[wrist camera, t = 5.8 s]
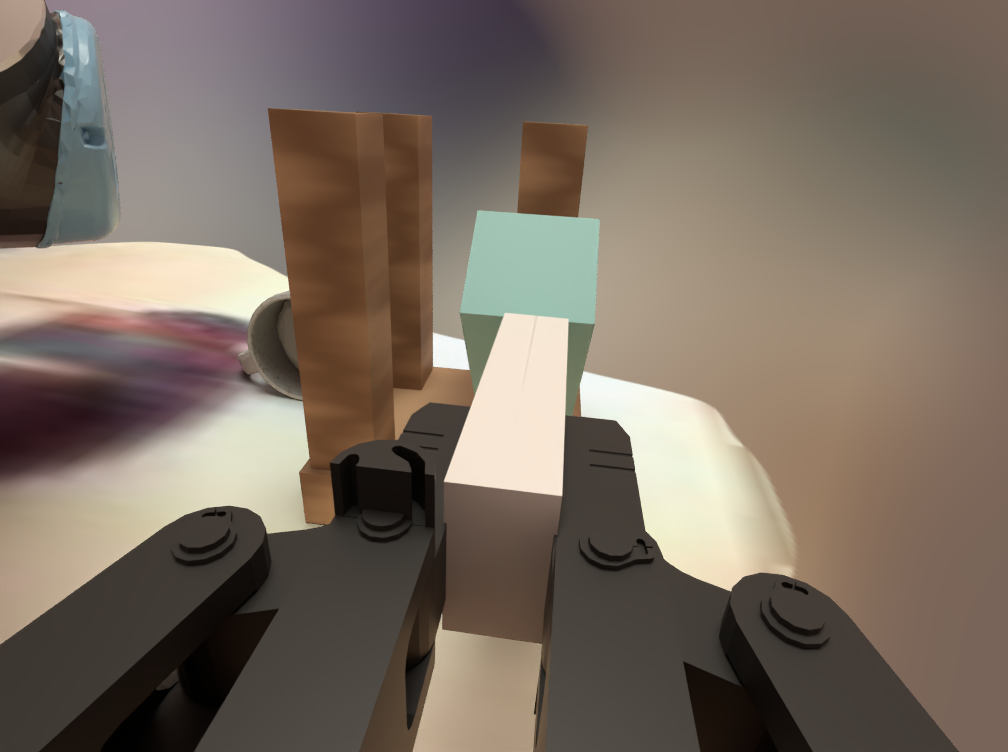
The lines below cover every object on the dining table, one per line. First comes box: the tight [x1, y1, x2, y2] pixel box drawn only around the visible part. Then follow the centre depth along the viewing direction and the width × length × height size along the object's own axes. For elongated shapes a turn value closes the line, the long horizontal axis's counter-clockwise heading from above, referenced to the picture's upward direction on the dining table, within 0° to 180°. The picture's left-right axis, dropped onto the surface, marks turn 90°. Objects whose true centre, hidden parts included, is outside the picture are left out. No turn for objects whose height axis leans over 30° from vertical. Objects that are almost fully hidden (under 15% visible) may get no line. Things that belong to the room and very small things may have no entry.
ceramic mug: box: [238, 291, 303, 400], centre depth 40 cm, size 11×8×8 cm
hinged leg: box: [460, 211, 600, 416], centre depth 20 cm, size 3×3×15 cm
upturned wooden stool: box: [268, 108, 588, 525], centre depth 28 cm, size 14×13×18 cm
